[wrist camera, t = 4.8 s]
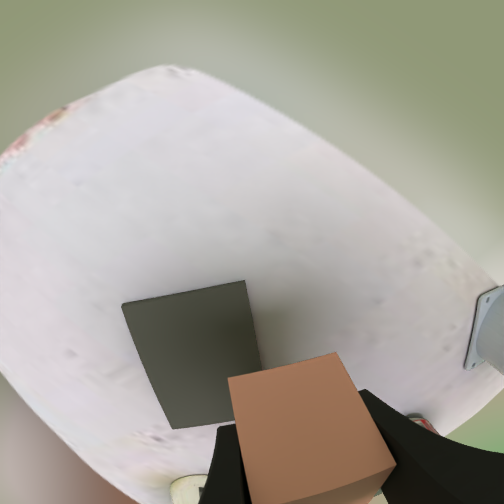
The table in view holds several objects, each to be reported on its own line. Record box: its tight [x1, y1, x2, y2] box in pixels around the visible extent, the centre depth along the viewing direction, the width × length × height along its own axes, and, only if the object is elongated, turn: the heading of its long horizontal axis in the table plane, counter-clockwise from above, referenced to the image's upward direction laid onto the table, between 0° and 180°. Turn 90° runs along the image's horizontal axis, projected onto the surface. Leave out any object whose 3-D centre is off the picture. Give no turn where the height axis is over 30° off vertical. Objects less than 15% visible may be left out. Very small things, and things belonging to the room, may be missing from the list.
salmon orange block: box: [228, 352, 397, 504], centre depth 11 cm, size 4×10×5 cm, turn 9°
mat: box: [121, 280, 262, 429], centre depth 18 cm, size 7×10×1 cm
